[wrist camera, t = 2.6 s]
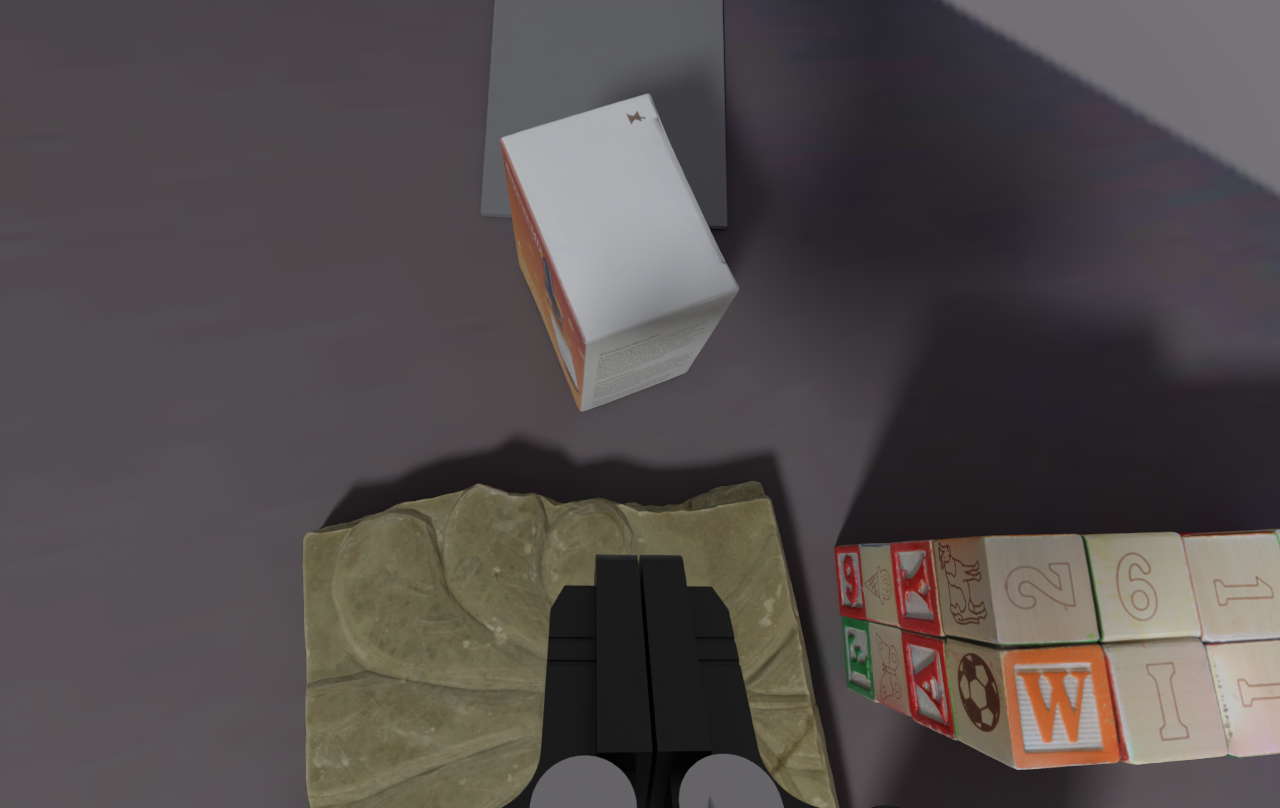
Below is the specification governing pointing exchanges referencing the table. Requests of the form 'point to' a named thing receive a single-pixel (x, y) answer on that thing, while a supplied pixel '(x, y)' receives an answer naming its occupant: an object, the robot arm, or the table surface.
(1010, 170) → the table surface
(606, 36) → the mat
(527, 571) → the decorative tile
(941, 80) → the table surface
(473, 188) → the table surface
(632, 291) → the small box
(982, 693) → the stack of blocks
